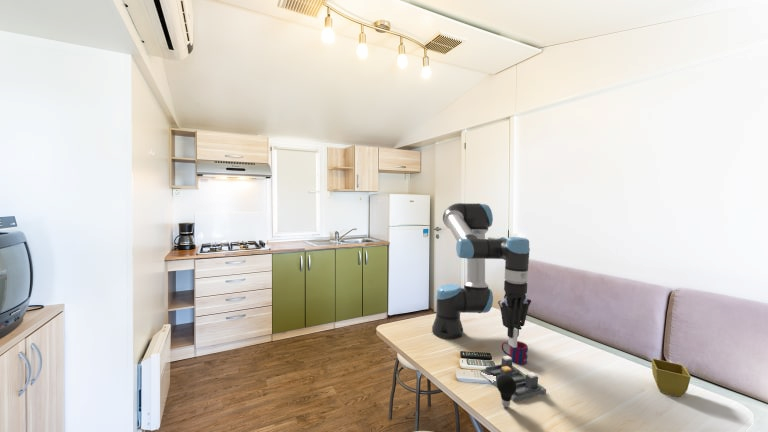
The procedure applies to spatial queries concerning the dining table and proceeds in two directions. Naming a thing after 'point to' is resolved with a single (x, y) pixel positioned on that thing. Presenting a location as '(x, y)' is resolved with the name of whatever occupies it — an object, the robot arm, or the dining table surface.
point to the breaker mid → (506, 371)
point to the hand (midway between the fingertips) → (512, 345)
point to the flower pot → (670, 377)
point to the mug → (518, 353)
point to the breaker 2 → (531, 380)
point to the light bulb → (506, 388)
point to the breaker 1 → (507, 361)
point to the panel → (519, 379)
